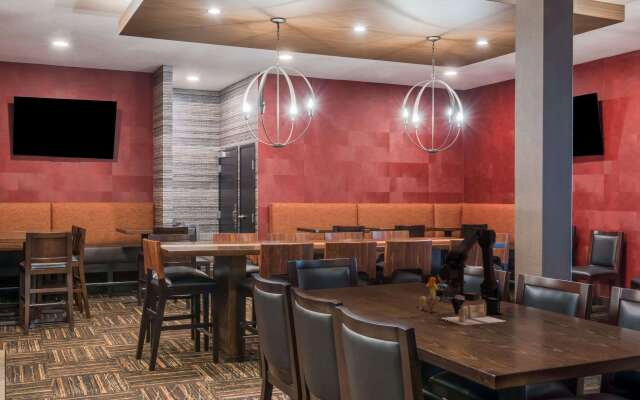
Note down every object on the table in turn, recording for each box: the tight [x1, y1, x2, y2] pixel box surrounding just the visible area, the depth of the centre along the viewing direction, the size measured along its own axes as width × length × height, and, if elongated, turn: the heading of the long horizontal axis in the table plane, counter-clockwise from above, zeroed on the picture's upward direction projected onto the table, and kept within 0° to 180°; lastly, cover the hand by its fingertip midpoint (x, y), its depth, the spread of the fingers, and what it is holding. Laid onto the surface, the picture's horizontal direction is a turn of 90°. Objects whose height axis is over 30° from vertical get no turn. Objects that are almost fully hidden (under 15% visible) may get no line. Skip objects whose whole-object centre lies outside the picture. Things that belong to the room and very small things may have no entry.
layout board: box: [440, 315, 506, 326], centre depth 304 cm, size 22×17×1 cm
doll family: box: [425, 276, 452, 304], centre depth 357 cm, size 21×10×13 cm, turn 34°
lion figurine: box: [415, 294, 440, 314], centre depth 327 cm, size 15×5×9 cm, turn 35°
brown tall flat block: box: [458, 304, 470, 322], centre depth 303 cm, size 13×2×6 cm, turn 157°
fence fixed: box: [469, 302, 487, 318], centre depth 310 cm, size 9×2×6 cm, turn 114°
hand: (456, 314), depth 300 cm, fingers closed
